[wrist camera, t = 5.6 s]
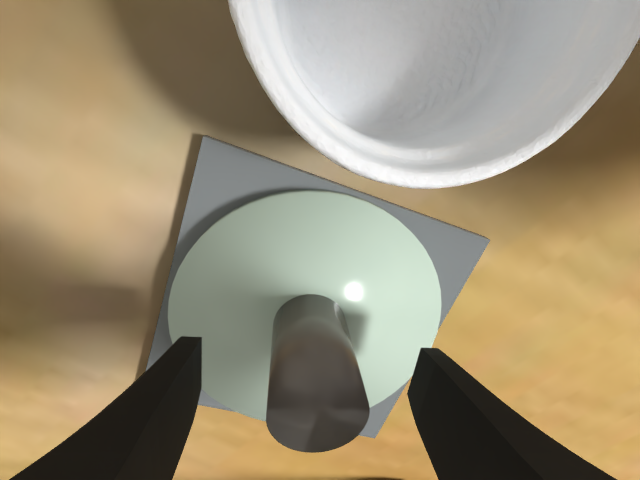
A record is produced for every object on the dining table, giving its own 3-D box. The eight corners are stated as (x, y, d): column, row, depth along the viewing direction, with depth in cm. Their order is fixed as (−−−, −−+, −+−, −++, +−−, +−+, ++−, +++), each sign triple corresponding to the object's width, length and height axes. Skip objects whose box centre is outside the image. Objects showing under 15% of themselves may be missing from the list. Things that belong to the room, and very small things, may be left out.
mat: (484, 236, 13) (490, 240, 12) (372, 430, 16) (375, 438, 16) (206, 135, 11) (203, 136, 10) (143, 386, 14) (140, 393, 14)
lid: (467, 206, 12) (567, 257, 8) (402, 415, 15) (446, 530, 11) (169, 170, 10) (88, 209, 6) (175, 409, 14) (126, 538, 10)
